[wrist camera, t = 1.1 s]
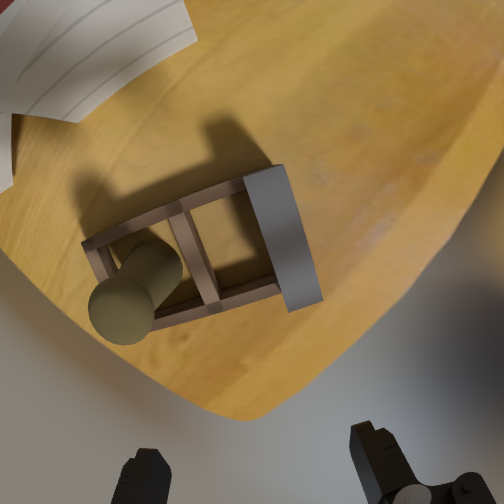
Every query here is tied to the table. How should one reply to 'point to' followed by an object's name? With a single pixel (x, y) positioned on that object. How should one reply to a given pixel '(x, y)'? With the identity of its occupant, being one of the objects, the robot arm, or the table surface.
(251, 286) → the divided wooden tray frame
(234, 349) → the table surface
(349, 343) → the table surface
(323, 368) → the table surface
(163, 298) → the cork
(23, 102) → the pizza boxes
